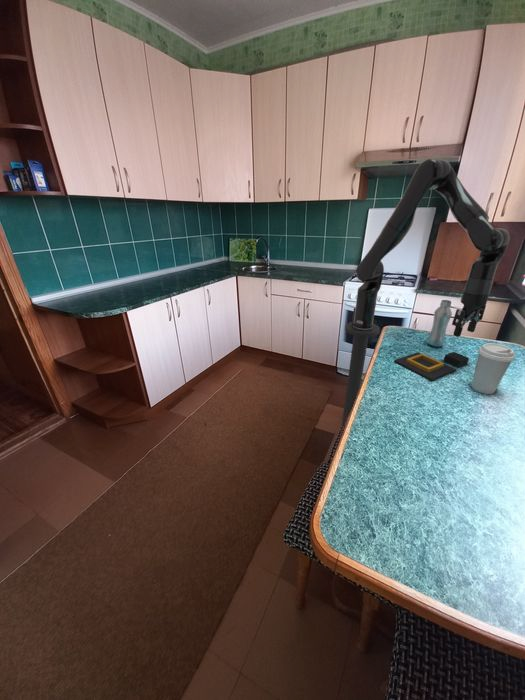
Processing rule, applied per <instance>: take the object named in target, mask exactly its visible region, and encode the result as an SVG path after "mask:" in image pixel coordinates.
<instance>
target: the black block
mask: <svg viewBox="0 0 525 700" xmlns="http://www.w3.org/2000/svg"><path fill="white" fill-rule="evenodd" d="M469 360H470V357H468V356H466V355H463V354H460V353H459V352H455V351H452V352H449V353H447V354H445V355H444V357H443V362H442V363H445V364H447V365H449V366H451V367H454V368H456V369H459V368H462V367H465V366H467V365H468V363H469Z"/></svg>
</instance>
